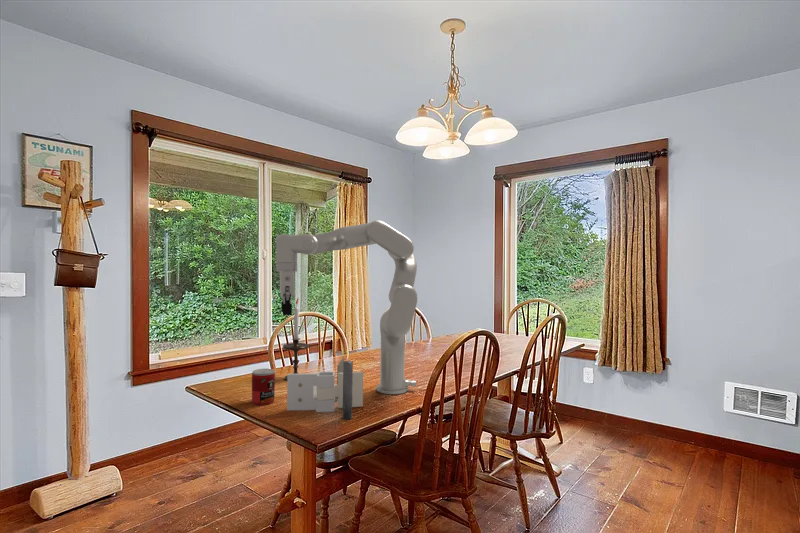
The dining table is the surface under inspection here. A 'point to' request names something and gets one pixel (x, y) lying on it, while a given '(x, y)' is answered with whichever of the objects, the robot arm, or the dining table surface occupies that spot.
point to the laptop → (339, 370)
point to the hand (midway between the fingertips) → (286, 313)
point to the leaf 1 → (309, 391)
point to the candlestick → (295, 341)
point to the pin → (347, 389)
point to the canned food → (263, 386)
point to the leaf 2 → (338, 390)
